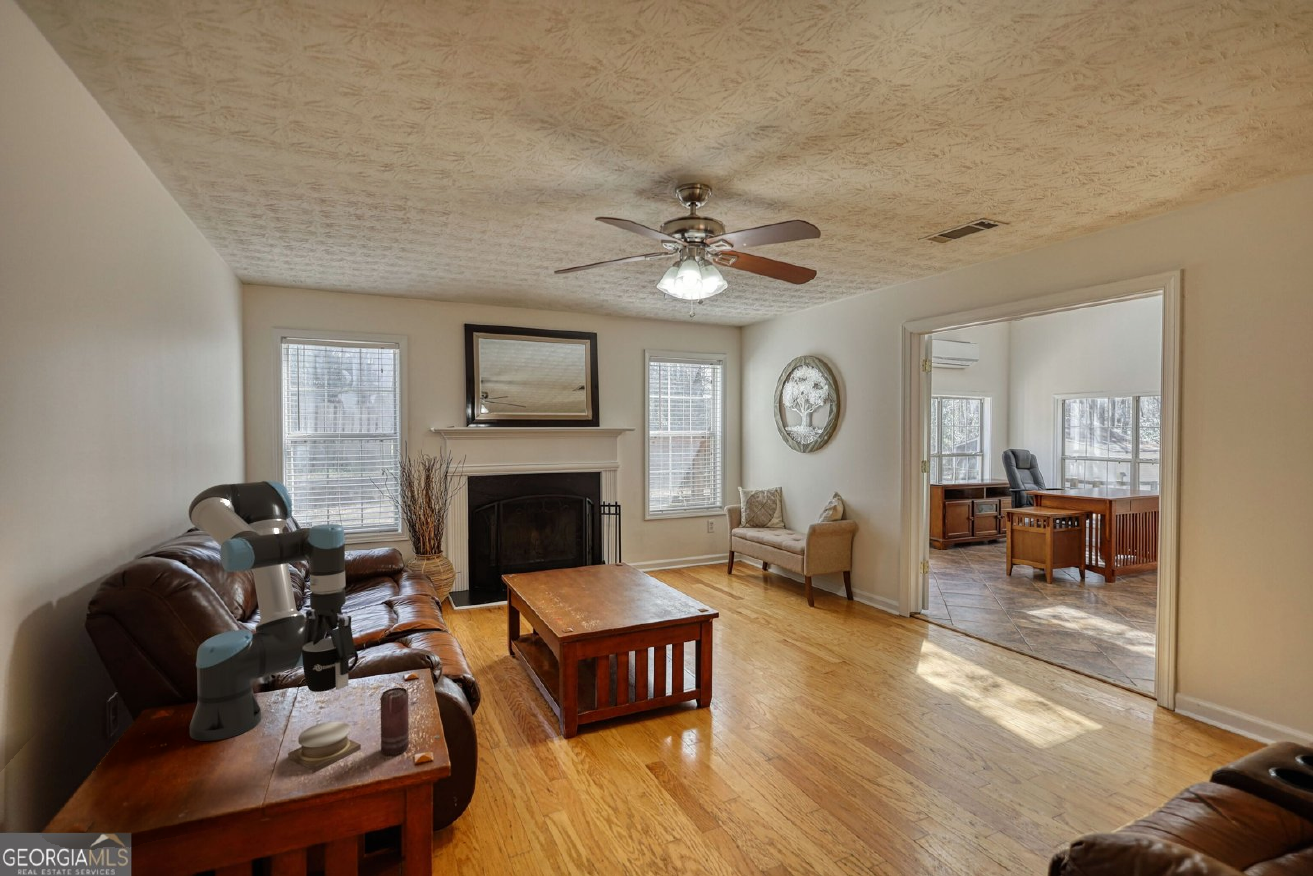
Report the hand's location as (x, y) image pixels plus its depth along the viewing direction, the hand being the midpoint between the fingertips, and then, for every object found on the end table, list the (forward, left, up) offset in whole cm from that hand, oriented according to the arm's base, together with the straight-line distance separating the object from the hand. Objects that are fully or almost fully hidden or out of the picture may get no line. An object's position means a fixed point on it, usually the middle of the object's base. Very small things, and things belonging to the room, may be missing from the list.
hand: (329, 683), depth 150 cm
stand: (+1, -2, -16) cm, 16 cm away
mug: (+1, 0, 0) cm, 1 cm away
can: (+14, +7, -16) cm, 23 cm away
